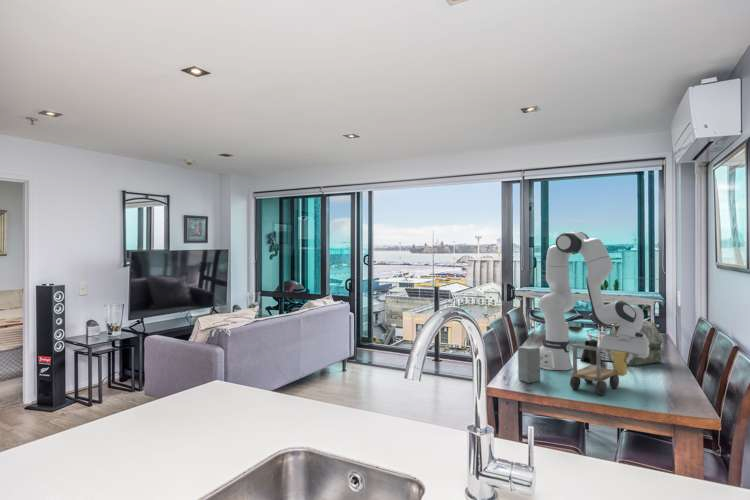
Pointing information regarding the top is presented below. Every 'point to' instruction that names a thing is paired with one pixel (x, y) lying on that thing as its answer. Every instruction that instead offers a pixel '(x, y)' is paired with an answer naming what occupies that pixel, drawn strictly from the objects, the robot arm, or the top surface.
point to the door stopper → (590, 353)
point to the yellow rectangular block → (620, 363)
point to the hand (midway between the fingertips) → (619, 361)
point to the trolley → (593, 372)
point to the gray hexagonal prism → (529, 364)
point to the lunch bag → (654, 344)
